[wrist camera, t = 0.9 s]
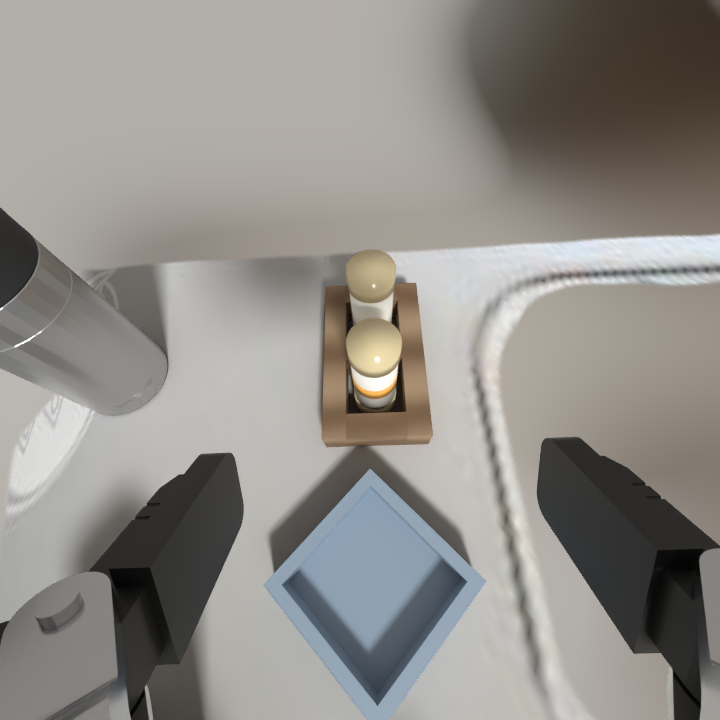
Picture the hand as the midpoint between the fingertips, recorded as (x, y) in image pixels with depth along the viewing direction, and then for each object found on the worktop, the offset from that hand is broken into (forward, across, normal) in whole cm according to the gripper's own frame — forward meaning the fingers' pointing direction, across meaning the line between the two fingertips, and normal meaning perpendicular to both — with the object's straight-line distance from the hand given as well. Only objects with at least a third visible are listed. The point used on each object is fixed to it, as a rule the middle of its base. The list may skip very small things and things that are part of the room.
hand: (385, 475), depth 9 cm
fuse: (+32, 0, +4) cm, 32 cm away
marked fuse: (+27, 0, +9) cm, 28 cm away
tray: (+15, +1, +21) cm, 26 cm away
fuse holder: (+29, 0, +7) cm, 30 cm away
